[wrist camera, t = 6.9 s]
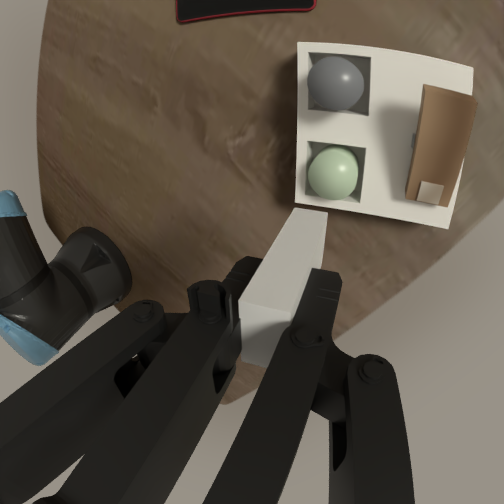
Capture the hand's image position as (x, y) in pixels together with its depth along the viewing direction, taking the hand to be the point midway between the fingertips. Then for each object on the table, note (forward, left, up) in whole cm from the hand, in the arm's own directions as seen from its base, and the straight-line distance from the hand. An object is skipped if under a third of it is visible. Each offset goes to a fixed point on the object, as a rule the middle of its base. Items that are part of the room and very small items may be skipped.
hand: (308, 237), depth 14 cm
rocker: (+8, +3, -12) cm, 15 cm away
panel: (+4, +3, -19) cm, 19 cm away
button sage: (-1, -1, -17) cm, 17 cm away
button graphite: (-1, +7, -16) cm, 17 cm away
